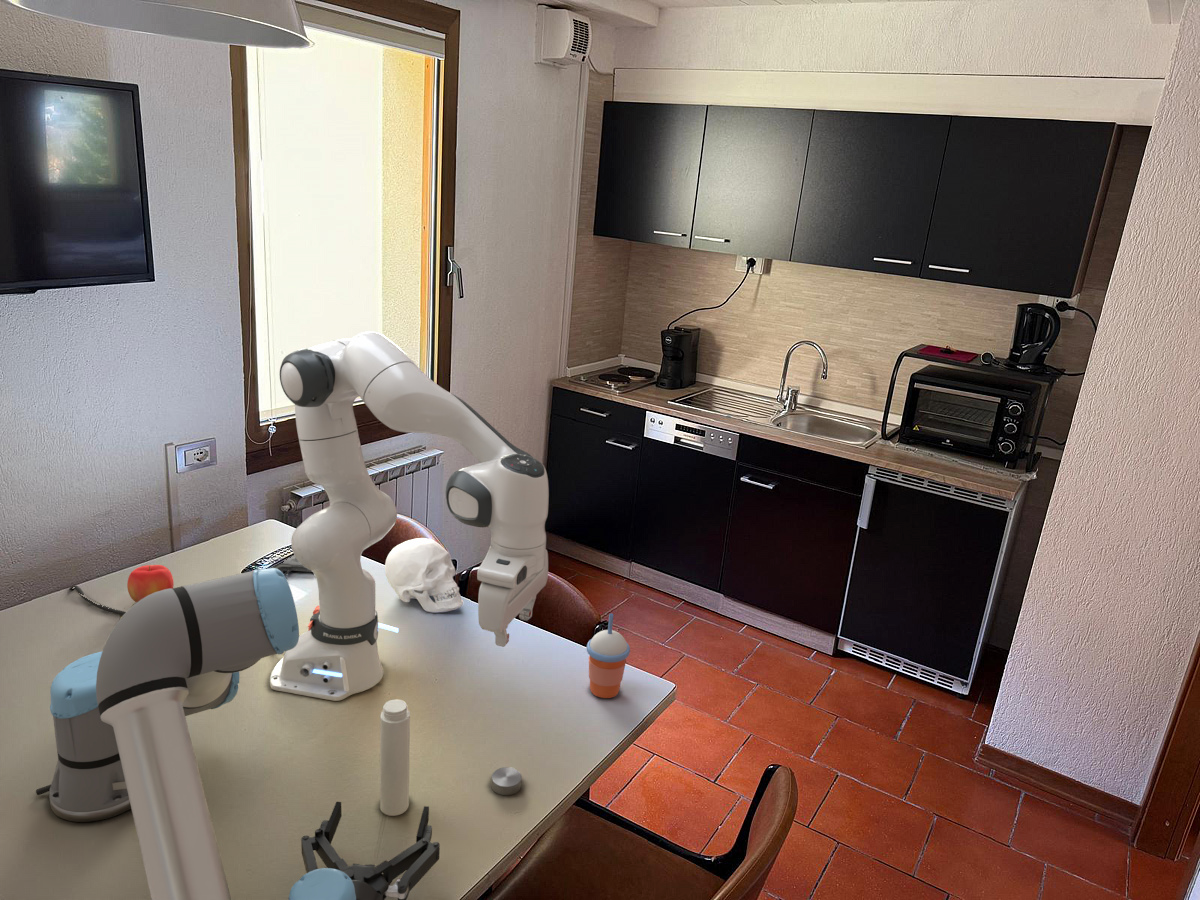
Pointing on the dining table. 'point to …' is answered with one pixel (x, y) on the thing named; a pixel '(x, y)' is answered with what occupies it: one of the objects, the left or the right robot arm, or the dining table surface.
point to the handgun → (291, 566)
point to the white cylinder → (394, 757)
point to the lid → (506, 781)
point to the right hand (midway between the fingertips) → (514, 631)
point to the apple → (148, 581)
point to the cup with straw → (607, 661)
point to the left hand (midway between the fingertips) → (382, 810)
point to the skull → (423, 575)
